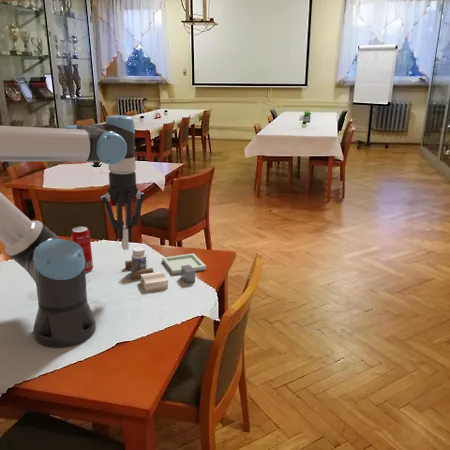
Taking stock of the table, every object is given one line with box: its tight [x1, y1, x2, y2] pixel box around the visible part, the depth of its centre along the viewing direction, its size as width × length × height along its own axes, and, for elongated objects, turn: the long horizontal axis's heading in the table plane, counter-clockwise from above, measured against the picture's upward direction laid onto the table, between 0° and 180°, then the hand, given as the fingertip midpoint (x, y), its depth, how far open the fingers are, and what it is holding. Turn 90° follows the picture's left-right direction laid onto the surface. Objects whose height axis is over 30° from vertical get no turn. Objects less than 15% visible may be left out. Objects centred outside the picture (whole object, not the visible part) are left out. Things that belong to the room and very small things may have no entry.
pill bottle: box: [131, 246, 147, 271], centre depth 152 cm, size 5×5×8 cm
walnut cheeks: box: [124, 259, 154, 281], centre depth 153 cm, size 10×7×2 cm
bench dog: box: [180, 265, 196, 284], centre depth 149 cm, size 5×3×4 cm, turn 25°
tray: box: [161, 253, 207, 276], centre depth 160 cm, size 12×12×2 cm
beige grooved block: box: [140, 271, 169, 292], centre depth 144 cm, size 7×7×3 cm
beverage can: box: [70, 225, 94, 273], centre depth 151 cm, size 6×6×15 cm
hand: (125, 248), depth 137 cm, fingers closed
